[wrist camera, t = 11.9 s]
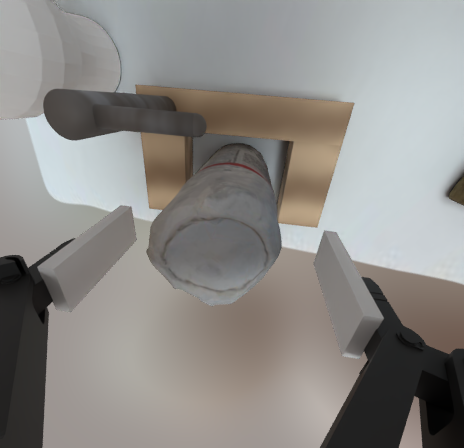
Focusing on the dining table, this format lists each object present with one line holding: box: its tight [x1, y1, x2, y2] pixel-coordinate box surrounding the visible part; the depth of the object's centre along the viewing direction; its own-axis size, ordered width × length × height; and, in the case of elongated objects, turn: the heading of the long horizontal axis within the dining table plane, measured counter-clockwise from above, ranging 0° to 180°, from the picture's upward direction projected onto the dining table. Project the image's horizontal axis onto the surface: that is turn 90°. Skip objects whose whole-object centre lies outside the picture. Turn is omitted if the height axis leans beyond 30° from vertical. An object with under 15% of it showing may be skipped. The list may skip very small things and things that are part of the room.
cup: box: [0, 0, 121, 120], centre depth 19 cm, size 11×11×15 cm
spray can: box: [147, 143, 281, 306], centre depth 21 cm, size 8×8×20 cm
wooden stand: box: [43, 85, 354, 227], centre depth 21 cm, size 14×22×18 cm, turn 86°
